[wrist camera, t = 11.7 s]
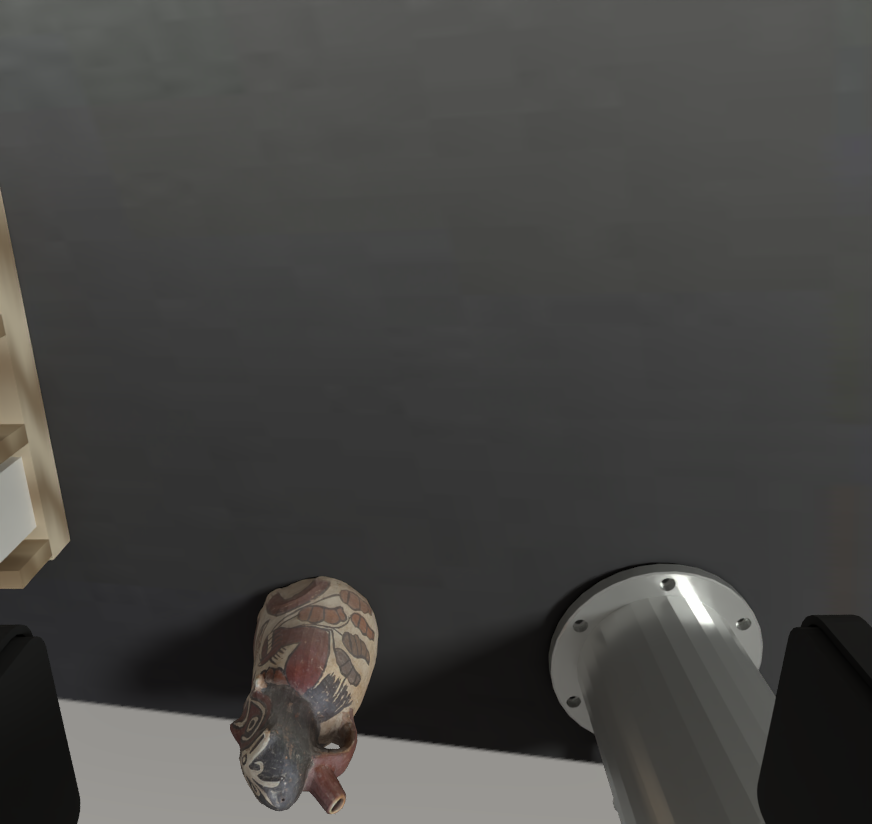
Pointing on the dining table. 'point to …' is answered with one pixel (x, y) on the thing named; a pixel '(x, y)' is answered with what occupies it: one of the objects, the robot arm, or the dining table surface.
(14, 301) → the wooden slotted rack
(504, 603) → the dining table surface
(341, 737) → the figurine
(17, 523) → the white and grey block
